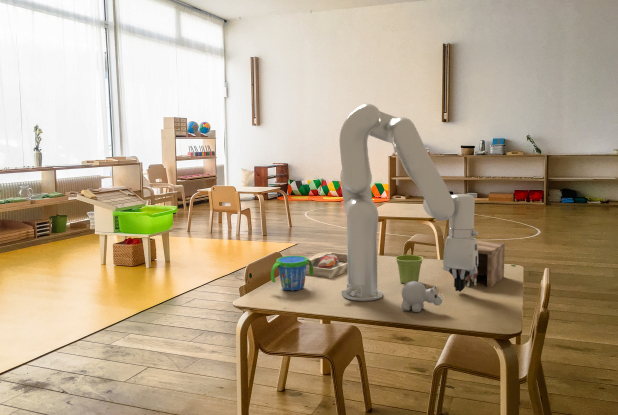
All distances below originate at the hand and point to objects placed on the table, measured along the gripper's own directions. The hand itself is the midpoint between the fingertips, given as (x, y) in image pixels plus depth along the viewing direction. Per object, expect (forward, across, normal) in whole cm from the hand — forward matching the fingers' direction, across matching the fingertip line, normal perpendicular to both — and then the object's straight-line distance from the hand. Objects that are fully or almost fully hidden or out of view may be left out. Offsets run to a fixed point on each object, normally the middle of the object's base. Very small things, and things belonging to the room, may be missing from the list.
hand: (459, 290), depth 173 cm
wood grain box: (+1, 0, -20) cm, 20 cm away
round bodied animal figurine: (+2, +3, +22) cm, 22 cm away
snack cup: (+2, +49, +23) cm, 54 cm away
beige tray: (+2, +53, -7) cm, 54 cm away
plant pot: (+2, +19, -4) cm, 20 cm away
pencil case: (+2, +53, -6) cm, 54 cm away
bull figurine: (+1, +1, -14) cm, 14 cm away
